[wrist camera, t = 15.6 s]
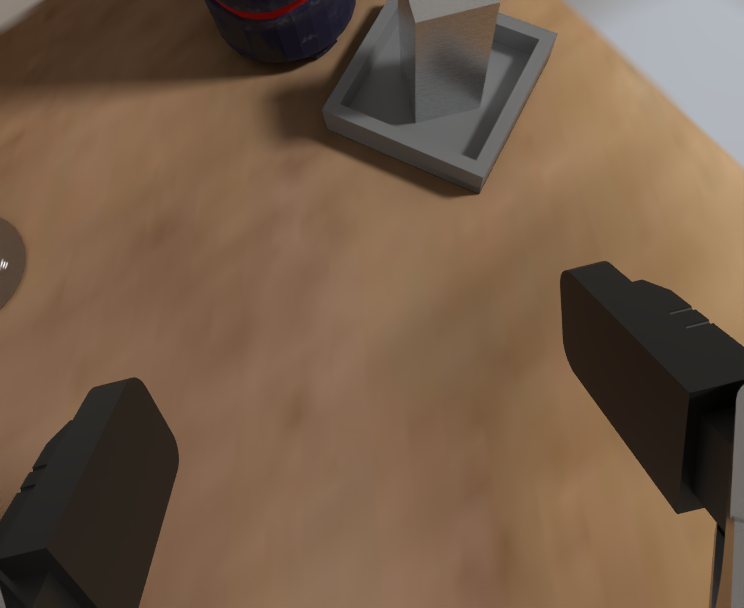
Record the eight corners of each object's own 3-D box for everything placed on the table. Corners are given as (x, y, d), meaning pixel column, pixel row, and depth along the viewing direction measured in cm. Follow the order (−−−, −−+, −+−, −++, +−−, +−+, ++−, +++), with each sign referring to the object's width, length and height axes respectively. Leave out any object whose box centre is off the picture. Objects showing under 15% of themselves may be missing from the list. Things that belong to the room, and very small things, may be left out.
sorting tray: (327, 129, 42) (321, 109, 39) (401, 3, 44) (401, -23, 42) (479, 194, 39) (483, 177, 37) (549, 57, 42) (557, 33, 39)
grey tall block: (415, 123, 40) (415, 20, 30) (400, 69, 41) (395, -47, 32) (479, 107, 40) (500, -1, 30) (462, 53, 41) (477, -67, 32)
